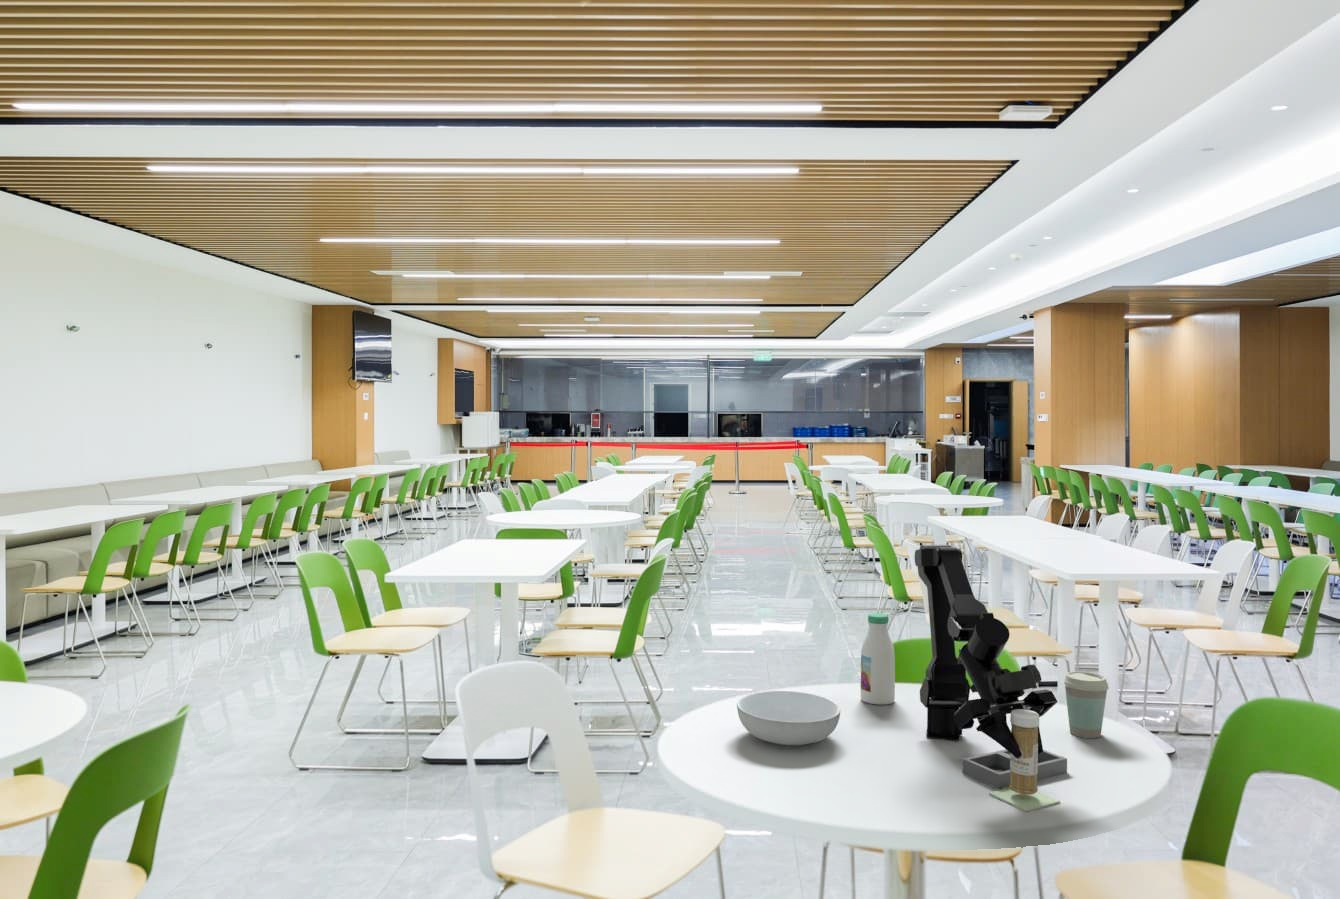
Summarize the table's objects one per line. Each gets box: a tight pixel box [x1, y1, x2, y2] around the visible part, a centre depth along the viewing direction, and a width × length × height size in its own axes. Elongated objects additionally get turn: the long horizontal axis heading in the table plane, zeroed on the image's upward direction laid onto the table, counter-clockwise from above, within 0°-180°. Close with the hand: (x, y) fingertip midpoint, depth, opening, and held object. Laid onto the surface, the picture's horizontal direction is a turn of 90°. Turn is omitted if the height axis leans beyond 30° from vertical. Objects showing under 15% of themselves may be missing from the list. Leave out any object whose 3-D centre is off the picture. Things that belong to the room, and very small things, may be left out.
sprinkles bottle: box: [1009, 709, 1040, 795], centre depth 154 cm, size 5×5×13 cm
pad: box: [988, 787, 1061, 813], centre depth 154 cm, size 8×8×1 cm
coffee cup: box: [1063, 671, 1110, 739], centre depth 187 cm, size 8×8×12 cm
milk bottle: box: [860, 613, 896, 706], centre depth 210 cm, size 8×8×20 cm
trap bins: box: [961, 748, 1068, 790], centre depth 166 cm, size 17×9×2 cm, turn 117°
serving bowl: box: [736, 690, 841, 746], centre depth 184 cm, size 21×21×7 cm
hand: (1030, 754), depth 153 cm, fingers closed on sprinkles bottle, 4 cm apart
